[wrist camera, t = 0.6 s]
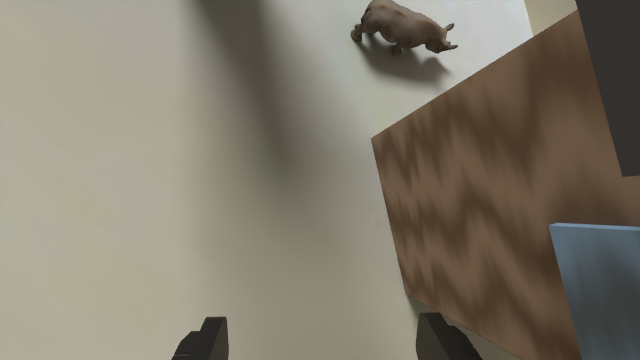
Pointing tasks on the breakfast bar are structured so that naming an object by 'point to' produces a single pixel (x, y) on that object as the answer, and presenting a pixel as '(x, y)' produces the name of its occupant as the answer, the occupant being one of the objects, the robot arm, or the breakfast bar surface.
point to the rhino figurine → (402, 27)
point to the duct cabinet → (520, 206)
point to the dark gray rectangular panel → (617, 71)
